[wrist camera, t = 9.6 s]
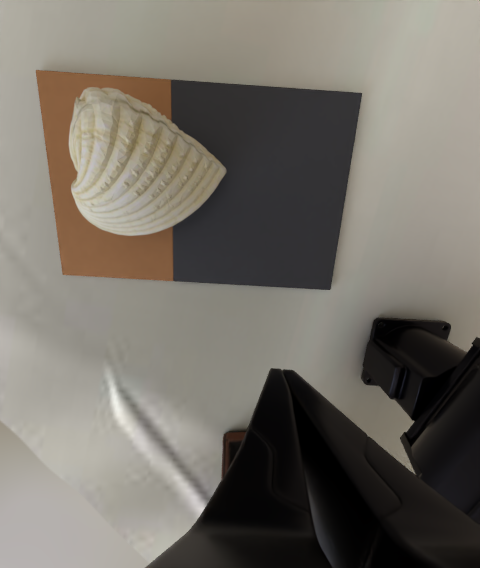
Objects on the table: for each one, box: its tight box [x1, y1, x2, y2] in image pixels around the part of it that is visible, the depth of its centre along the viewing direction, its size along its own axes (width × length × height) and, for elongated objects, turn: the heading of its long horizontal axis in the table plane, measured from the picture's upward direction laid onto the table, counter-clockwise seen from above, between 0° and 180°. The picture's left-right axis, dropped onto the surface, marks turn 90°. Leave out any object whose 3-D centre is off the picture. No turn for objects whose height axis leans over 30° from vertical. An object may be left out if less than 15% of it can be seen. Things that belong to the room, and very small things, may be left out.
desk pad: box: [36, 70, 362, 290], centre depth 18 cm, size 22×14×1 cm, turn 87°
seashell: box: [69, 87, 226, 236], centre depth 15 cm, size 8×8×8 cm
